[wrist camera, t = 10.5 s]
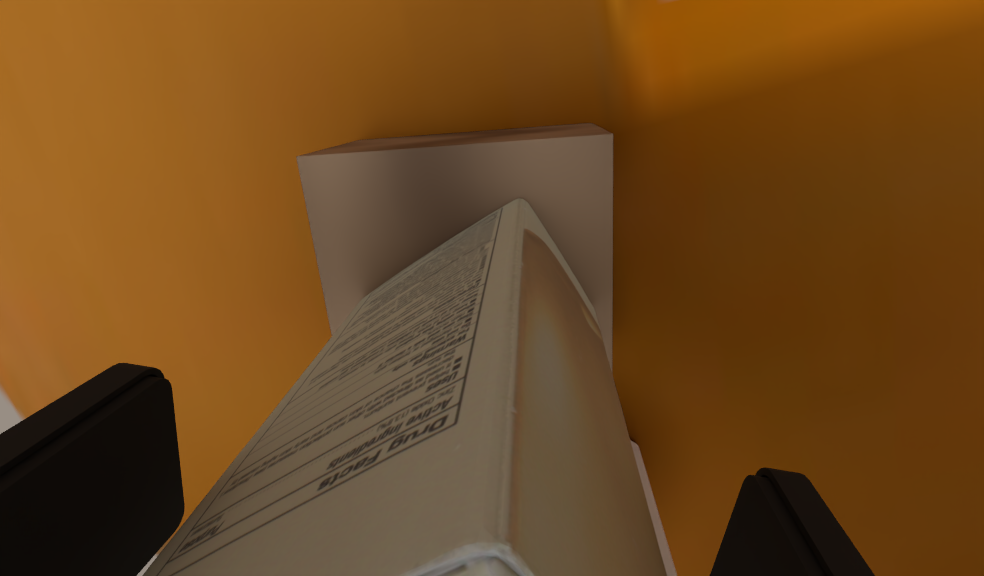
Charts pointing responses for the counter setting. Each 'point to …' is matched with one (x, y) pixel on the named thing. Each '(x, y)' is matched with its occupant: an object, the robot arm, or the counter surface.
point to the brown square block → (457, 203)
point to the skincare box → (441, 435)
